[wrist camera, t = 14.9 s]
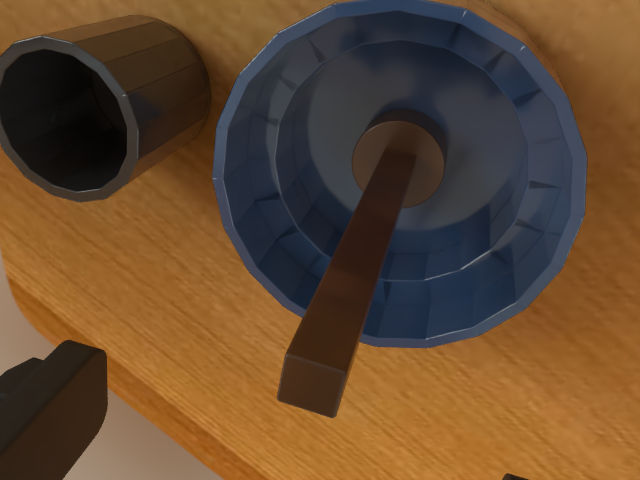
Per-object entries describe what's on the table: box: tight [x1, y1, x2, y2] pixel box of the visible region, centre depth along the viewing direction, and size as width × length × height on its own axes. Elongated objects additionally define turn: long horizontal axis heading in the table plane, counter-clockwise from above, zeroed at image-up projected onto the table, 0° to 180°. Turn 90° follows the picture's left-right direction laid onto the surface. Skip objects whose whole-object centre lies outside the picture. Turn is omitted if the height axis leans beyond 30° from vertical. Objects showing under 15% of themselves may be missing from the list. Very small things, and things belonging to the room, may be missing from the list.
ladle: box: [277, 109, 447, 418], centre depth 20 cm, size 4×4×16 cm
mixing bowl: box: [212, 0, 588, 348], centre depth 25 cm, size 14×14×6 cm
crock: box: [0, 15, 210, 202], centre depth 27 cm, size 7×7×7 cm
